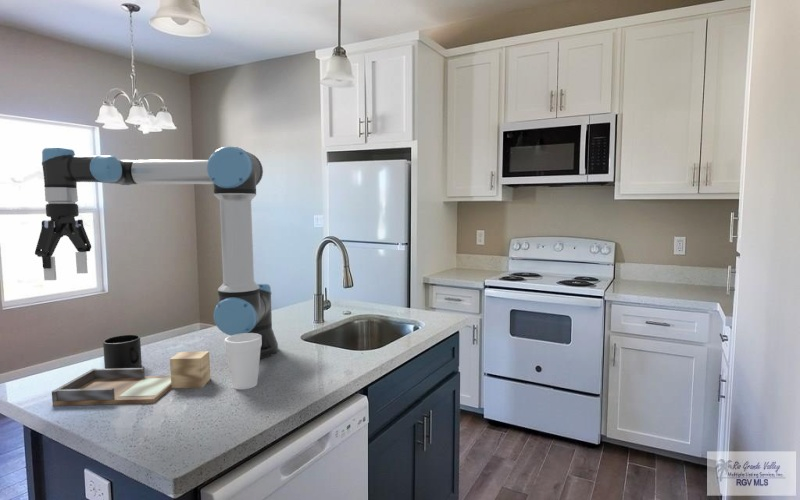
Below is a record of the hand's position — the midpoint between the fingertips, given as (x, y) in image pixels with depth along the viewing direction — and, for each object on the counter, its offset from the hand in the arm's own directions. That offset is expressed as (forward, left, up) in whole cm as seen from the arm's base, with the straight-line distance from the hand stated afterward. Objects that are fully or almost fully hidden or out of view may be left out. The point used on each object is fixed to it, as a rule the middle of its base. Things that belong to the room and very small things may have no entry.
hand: (67, 276), depth 133 cm
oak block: (-39, +13, -28) cm, 50 cm away
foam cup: (-54, +15, -28) cm, 63 cm away
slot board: (-23, +17, -28) cm, 40 cm away
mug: (-15, 0, -28) cm, 32 cm away
